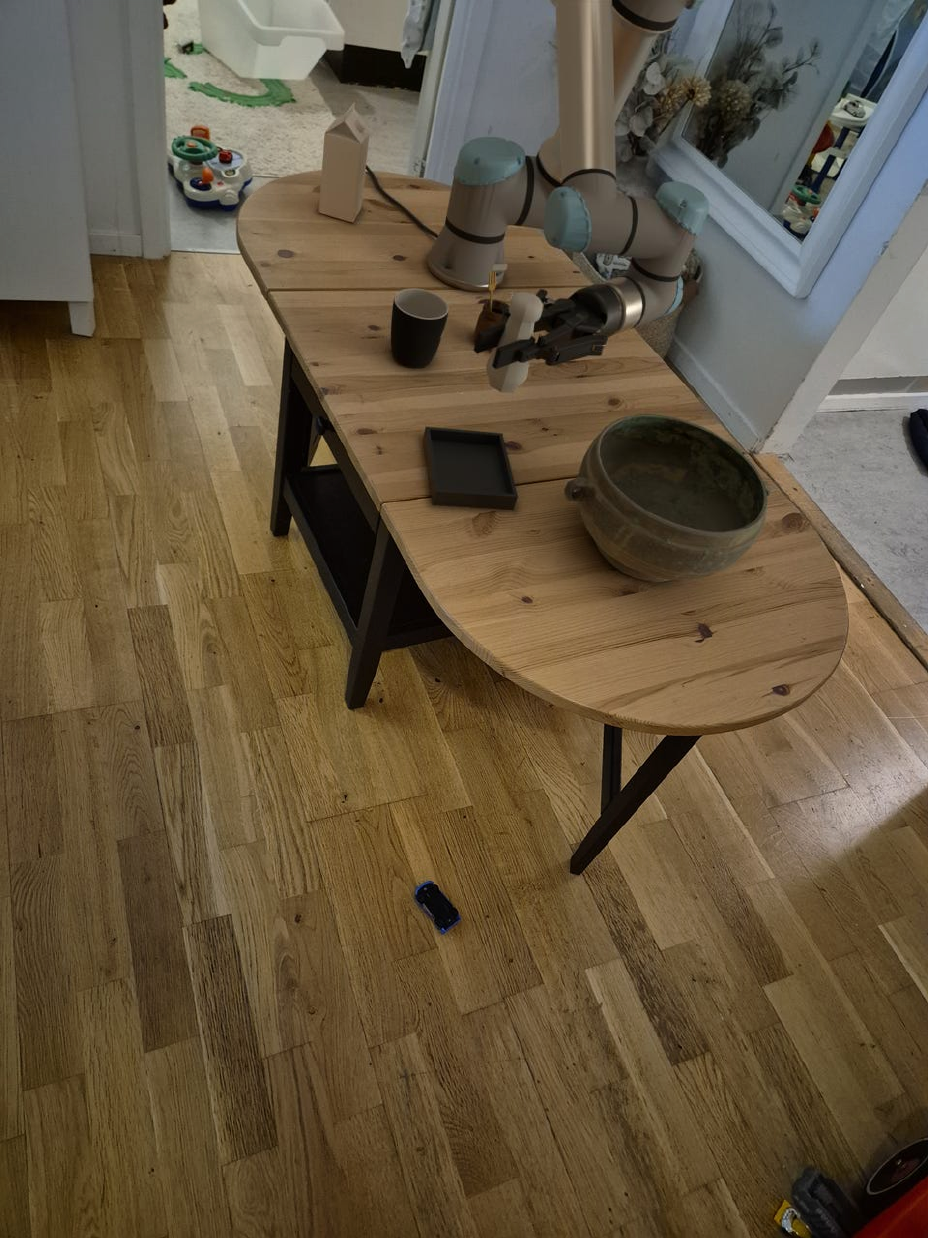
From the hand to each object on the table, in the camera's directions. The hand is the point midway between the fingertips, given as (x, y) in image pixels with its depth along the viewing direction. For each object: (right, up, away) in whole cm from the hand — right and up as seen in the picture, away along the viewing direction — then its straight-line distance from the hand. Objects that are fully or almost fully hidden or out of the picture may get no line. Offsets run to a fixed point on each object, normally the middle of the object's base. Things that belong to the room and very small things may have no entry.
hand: (487, 350), depth 102 cm
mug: (-12, +11, +35) cm, 38 cm away
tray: (-3, -13, +18) cm, 22 cm away
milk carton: (-28, +49, +60) cm, 82 cm away
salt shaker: (+2, -2, +8) cm, 9 cm away
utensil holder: (+1, +16, +42) cm, 45 cm away
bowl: (+23, -24, +16) cm, 37 cm away
